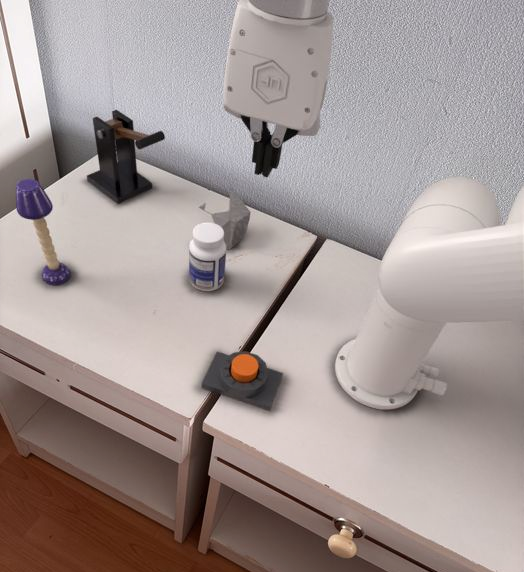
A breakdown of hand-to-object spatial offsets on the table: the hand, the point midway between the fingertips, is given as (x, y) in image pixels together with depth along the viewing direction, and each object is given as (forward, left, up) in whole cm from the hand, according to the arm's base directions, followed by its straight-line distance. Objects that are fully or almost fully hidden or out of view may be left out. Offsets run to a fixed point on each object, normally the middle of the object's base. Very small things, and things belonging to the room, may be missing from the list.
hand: (264, 169), depth 61 cm
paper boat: (+10, -16, -25) cm, 32 cm away
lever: (+28, -19, -14) cm, 36 cm away
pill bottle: (+8, -4, -25) cm, 27 cm away
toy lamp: (+30, +5, -25) cm, 40 cm away
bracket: (+32, -21, -25) cm, 46 cm away
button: (-4, +13, -22) cm, 26 cm away
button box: (-4, +13, -25) cm, 29 cm away
